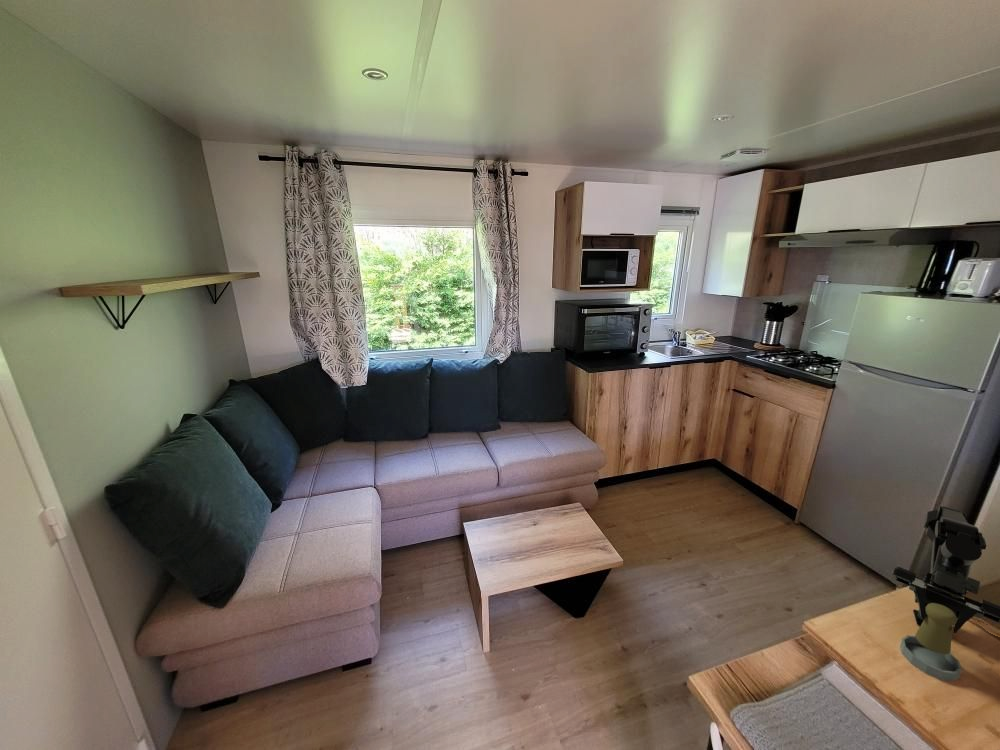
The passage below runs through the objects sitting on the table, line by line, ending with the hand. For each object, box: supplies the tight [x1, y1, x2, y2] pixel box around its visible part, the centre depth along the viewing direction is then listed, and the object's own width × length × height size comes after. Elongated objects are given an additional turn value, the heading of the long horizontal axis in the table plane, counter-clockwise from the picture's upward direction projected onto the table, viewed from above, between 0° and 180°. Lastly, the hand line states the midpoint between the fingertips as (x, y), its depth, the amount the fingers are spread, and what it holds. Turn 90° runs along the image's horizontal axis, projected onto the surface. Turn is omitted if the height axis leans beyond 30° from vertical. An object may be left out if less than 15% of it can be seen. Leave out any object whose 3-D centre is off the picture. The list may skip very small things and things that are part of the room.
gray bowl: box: [899, 634, 963, 682], centre depth 97 cm, size 10×10×2 cm
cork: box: [914, 603, 958, 654], centre depth 95 cm, size 6×6×11 cm
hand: (937, 625), depth 94 cm, fingers closed on cork, 5 cm apart
